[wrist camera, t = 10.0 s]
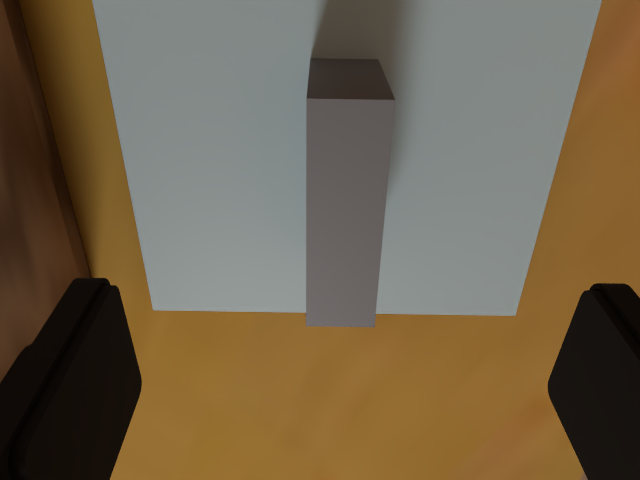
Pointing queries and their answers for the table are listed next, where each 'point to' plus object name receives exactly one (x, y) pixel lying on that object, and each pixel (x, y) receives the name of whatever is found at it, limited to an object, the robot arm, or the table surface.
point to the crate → (30, 200)
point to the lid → (341, 148)
